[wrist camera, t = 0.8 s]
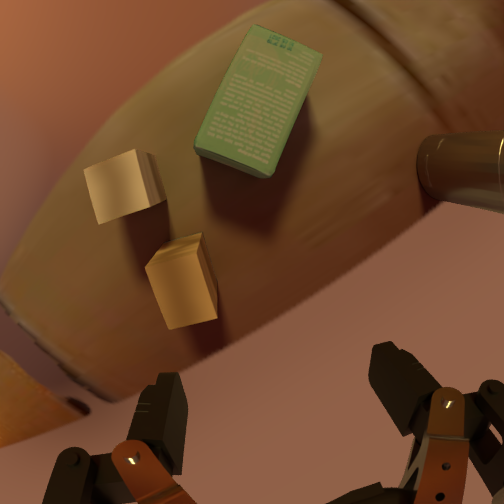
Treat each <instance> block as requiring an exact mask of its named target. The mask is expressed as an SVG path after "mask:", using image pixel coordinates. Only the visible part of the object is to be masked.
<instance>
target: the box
mask: <svg viewBox="0 0 504 504" xmlns="http://www.w3.org/2000/svg"><path fill="white" fill-rule="evenodd" d="M322 56H323V54H321V53H319V52H317V51H315V50H313V49H311V48H309V47H307V46H305V45H303V44H301V43H298V42H296V41H294V40H292V39H290V38H287V37H285V36H283V35H281V34H278V33H276V32H274V31H271V30H269V29H266V28H264V27H261V26H259V25H255V24H253V25H252V27H251V28H250V30H249V31H248V33H247V34H246V36H245V38H244V39H243V41H242V43H241V45H240V47H239V49H238V51H237V52H236V54H235V56H234V58H233V60H232V62H231V64H230V66H229V68H228V70H227V72H226V74H225V76H224V78H223V80H222V82H221V84H220V86H219V88H218V90H217V92H216V94H215V97H214V99H213V101H212V103H211V105H210V107H209V110H208V112H207V114H206V116H205V118H204V121H203V123H202V125H201V127H200V130H199V132H198V134H197V136H196V138H195V140H194V149H195V152H196V154H197V155H200V156H203V157H206V158H209V159H211V160H214V161H217V162H219V163H222V164H225V165H227V166H230V167H233V168H235V169H238V170H240V171H243V172H245V173H248V174H250V175H253V176H255V177H258V178H271V176H272V174H273V173H274V171H275V168H276V166H277V163H278V161H279V158H280V156H281V154H282V151H283V149H284V147H285V144H286V142H287V139H288V137H289V135H290V132H291V130H292V128H293V125H294V123H295V121H296V118H297V116H298V113H299V111H300V109H301V106H302V104H303V102H304V100H305V97H306V95H307V93H308V90H309V88H310V86H311V84H312V82H313V79H314V77H315V75H316V73H317V70H318V68H319V65H320V63H321V60H322Z"/></svg>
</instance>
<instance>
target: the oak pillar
mask: <svg viewBox="0 0 504 504" xmlns="http://www.w3.org/2000/svg"><path fill="white" fill-rule="evenodd" d="M145 270H146V272H147V275H148V278H149V281H150V283H151V286H152V289H153V291H154V294H155V297H156V299H157V302H158V304H159V307H160V309H161V312H162V314H163V317H164V319H165V321H166V324H167V326H168V329H169V330H171V329H175V328H179V327H184V326H188V325H192V324H196V323H200V322H204V321H208V320H212V319H216V318H217V279H216V276H215V273H214V269H213V266H212V263H211V259H210V256H209V253H208V249H207V246H206V243H205V239H204V236H203V232H199V233H196V234H192V235H189V236H185V237H182V238H178V239H175V240H171V241H168V242H164V243H163V244H162V246H161V247H160V248H159V250H158V251H157V252H156V253H155V255H154V256H153V257H152V259H151V260H150V261H149V263H148V264H147V265H146V267H145Z"/></svg>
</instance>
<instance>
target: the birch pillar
mask: <svg viewBox="0 0 504 504" xmlns="http://www.w3.org/2000/svg"><path fill="white" fill-rule="evenodd" d="M84 173H85V177H86V181H87V185H88V189H89V193H90V197H91V200H92V204H93V208H94V211H95V214H96V218H97V221H98V224H102V223H104V222H107V221H110V220H113V219H116V218H119V217H121V216H124V215H127V214H130V213H133V212H136V211H139V210H142V209H146V208H149V207H151V206H153V205H156V204H158V203H160V202H162V201H164V200H166V199H167V197H166V194H165V190H164V186H163V183H162V179H161V175H160V172H159V168H158V164H157V160H156V156H155V155H152V154H149V153H146V152H143V151H139V150H136V149H134V150H131V151H129V152H126V153H123V154H120V155H118V156H115V157H113V158H110V159H108V160H105V161H103V162H100V163H98V164H95V165H93V166H91V167H88V168H86V169H84Z"/></svg>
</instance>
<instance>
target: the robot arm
mask: <svg viewBox="0 0 504 504" xmlns="http://www.w3.org/2000/svg"><path fill="white" fill-rule="evenodd" d="M417 170H418V175H419V179H420V182H421V184H422V186H423V188H424V190H425V191H426V192H427V193H428V195H430V196H431V197H432V198H434V199H437V200H441V201H447V202H452V203H457V204H461V205H466V206H471V207H475V208H480V209H485V210H489V211H493V212H497V213H502V214H504V130H501V131H478V132H463V133H449V134H439V135H432V136H430V137H428V138H427V139H425V140H424V142H423V143H422V144H421V147H420V149H419V152H418V157H417ZM368 376H369V382H370V385H371V387H372V388H373V389H374V391H375V393H376V395H377V396H378V398H379V399H380V401H381V402H382V404H383V406H384V407H385V409H386V410H387V412H388V414H389V415H390V417H391V418H392V420H393V422H394V423H395V425H396V426H397V428H398V430H399V431H400V433H401V434H402V436H403V437H404V436H406V435H408V434H411V433H413V435H414V436H415V437H414V439H413V443H412V447H411V451H410V455H409V458H408V462H407V466H406V469H405V473H404V476H403V478H402V481H401V483H400V485H399V487H398V488H392V487H391V488H382V485H381V483H380V482H378V483H375V484H372V485H369V486H366V487H363V488H360V489H356V490H353V491H350V492H349V493H347V494H345V495H343V496H341V497H339V498H337V499H335V500H333V501H331V502H329V503H326V504H462V500H463V495H464V489H465V481H466V474H467V466H468V457H469V458H470V460H471V461H472V463H473V465H474V467H475V468H476V470H477V471H478V473H479V475H480V476H481V478H482V479H483V481H484V483H485V484H486V486H487V488H488V490H489V492H490V493H491V495H492V497H493V499H492V504H504V384H503V383H501V382H500V381H497V380H486V381H485V382H483V383H482V384H481V386H480V388H479V390H478V392H473V393H468V394H462V393H461V392H460V391H459V390H457V389H454V388H451V387H442V386H441V385H440V384H439V383H438V382H437V381H436V380H435V379H434V377H433V376H432V375H431V374H430V373H429V372H428V371H427V370H426V369H425V368H424V367H423V365H422V364H421V363H419V361H418V360H417V359H416V358H415V357H414V356H413V355H412V354H411V353H409V352H407V351H405V350H403V349H401V350H399V349H398V348H397V347H396V346H395V345H394V344H393V342H391V341H388V342H384V343H380V344H376V345H374V346H373V348H372V354H371V360H370V367H369V374H368ZM135 411H136V412H135V413H134V416H133V419H132V423H131V426H130V429H129V433H128V436H127V439H126V441H123V442H121V443H119V444H118V445H117V446H116V447H115V448H114V449H113V451H112V453H107V454H100V455H92V456H90V455H89V454H88V453H87V452H86V451H85V450H84V449H82V448H79V447H71V448H68V449H65V450H63V451H62V452H61V453H60V454H59V456H58V458H57V460H56V463H55V466H54V468H53V471H52V474H51V477H50V480H49V483H48V486H47V490H46V492H45V495H44V499H43V502H42V504H124V503H132V502H137V503H138V504H197V503H196V502H195V501H194V500H193V499H192V498H191V497H190V495H189V494H188V493H187V492H186V491H185V490H184V489H183V488H182V487H181V486H180V485H178V484H177V483H176V482H175V480H174V479H173V478H172V475H182V463H183V453H184V444H185V435H186V425H187V417H188V404H187V399H186V396H185V392H184V389H183V386H182V382H181V379H180V376H179V373H178V372H169V373H159V375H158V378H157V381H156V385H148V386H147V387H146V388H145V389H144V390H143V391H142V392H141V394H140V397H139V400H138V405H137V407H136V410H135ZM491 424H492V425H493V426H494V427H495V428H496V430H497V431H498V432H499V434H500V435H501V436H502V440H503V443H502V445H501V443H500V442H499V441H498V440H497V438H496V437H495V435H494V434H493V433H492V431H491V430H490V429H489V427H490V425H491Z"/></svg>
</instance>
